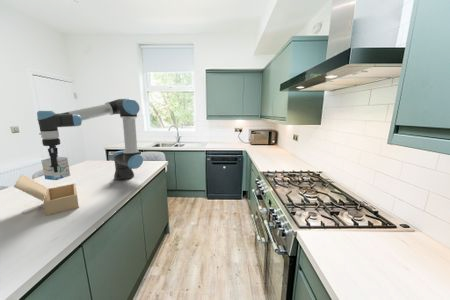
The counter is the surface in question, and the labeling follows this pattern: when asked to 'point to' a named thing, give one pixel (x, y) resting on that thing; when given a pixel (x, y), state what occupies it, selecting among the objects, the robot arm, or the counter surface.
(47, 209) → the box
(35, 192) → the lid
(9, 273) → the counter surface
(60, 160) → the ink box
